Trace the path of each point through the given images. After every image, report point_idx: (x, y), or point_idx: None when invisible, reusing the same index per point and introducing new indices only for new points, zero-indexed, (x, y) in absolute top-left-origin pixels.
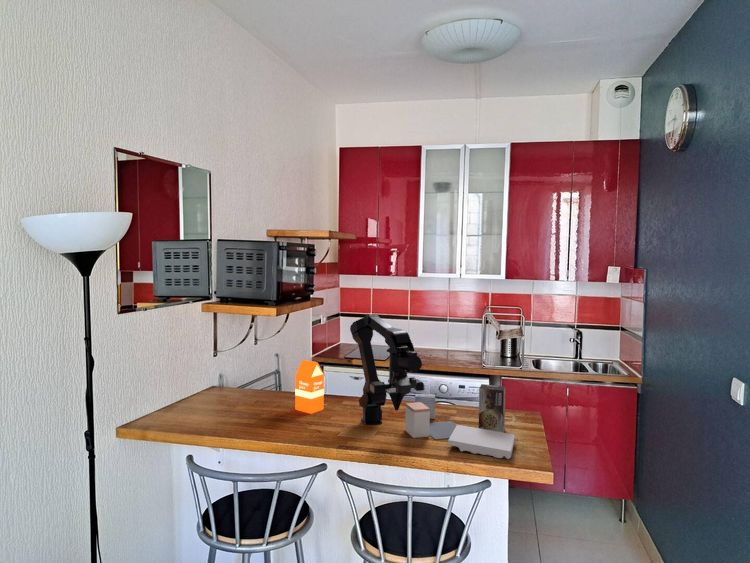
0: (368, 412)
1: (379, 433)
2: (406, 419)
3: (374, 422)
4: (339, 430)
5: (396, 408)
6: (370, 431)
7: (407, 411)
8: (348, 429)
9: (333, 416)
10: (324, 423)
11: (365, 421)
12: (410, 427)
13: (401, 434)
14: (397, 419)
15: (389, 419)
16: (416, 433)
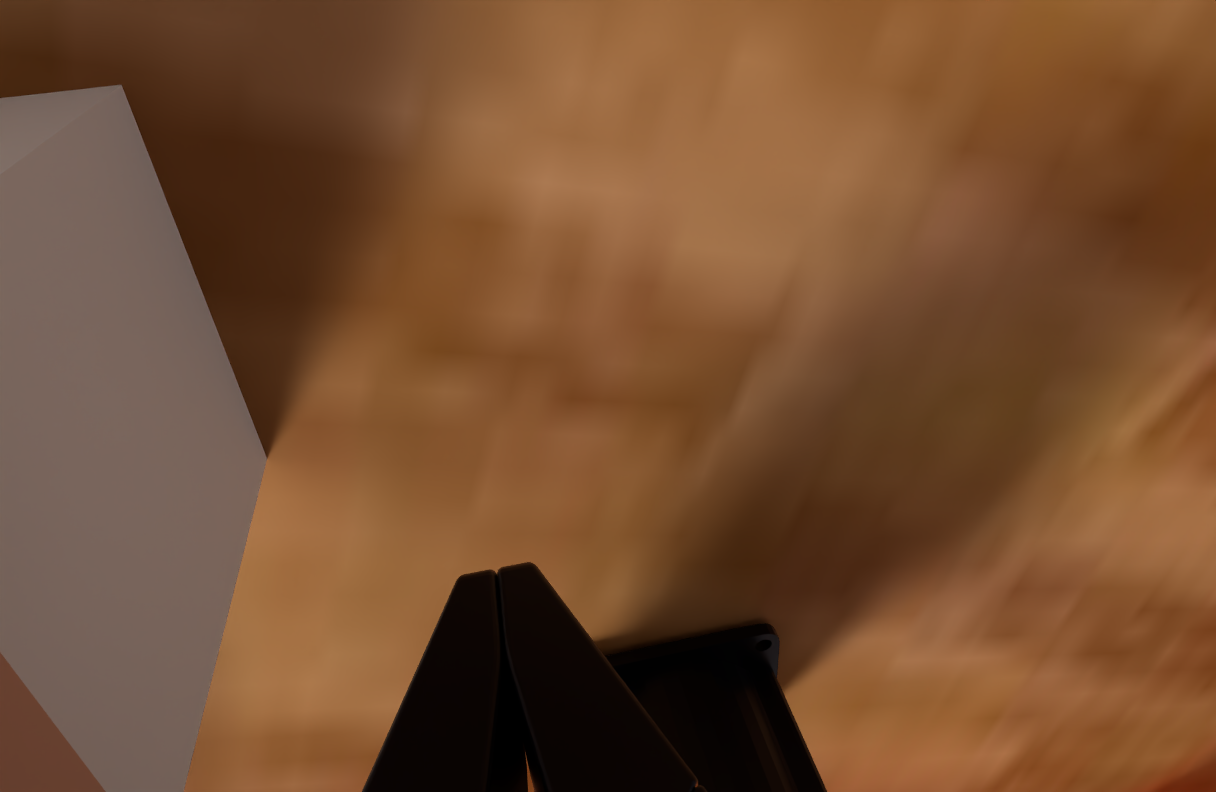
0: (784, 781)
1: (703, 359)
2: (209, 561)
3: (667, 663)
4: (1121, 480)
5: (525, 606)
6: (797, 436)
7: (138, 689)
8: (1016, 505)
9: (975, 785)
10: (1141, 646)
11: (773, 674)
12: (145, 316)
13: (356, 290)
14: (335, 776)
15: None
16: (15, 116)
